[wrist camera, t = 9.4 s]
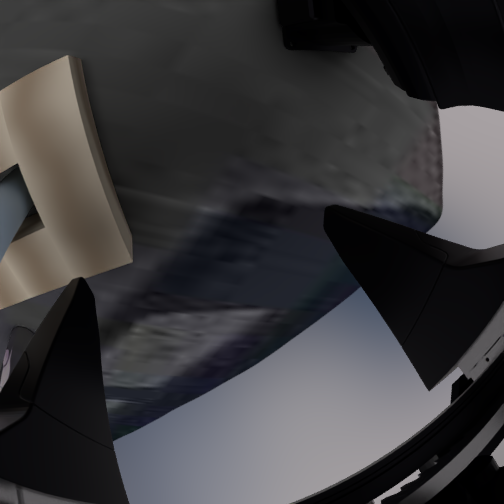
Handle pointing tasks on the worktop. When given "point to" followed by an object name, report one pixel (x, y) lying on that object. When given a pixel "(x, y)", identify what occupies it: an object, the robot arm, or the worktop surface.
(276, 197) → the worktop surface
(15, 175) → the dowel
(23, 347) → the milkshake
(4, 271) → the socket block
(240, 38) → the worktop surface
